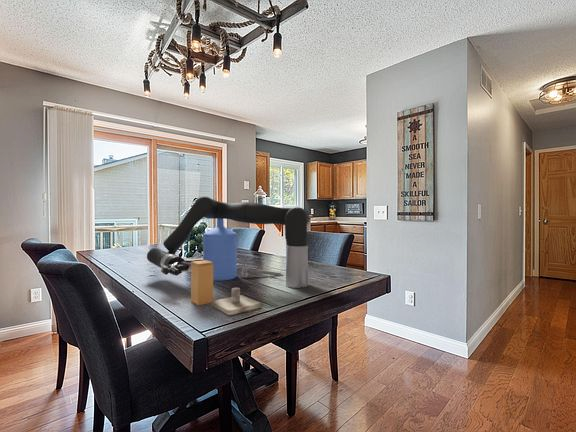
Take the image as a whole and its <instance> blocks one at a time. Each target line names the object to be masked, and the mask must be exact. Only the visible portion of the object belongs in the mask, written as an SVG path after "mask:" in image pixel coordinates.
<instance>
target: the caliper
mask: <svg viewBox="0 0 576 432" xmlns="http://www.w3.org/2000/svg"><path fill="white" fill-rule="evenodd" d="M249 274H252V275H257V274H262V275H268V276H269V275H270V276H276V275H281V276H284V274H283V273H282V272H276V271H268V270H263V269H258V268H257V267H256V268H255V267H248V264H244V266H242V269H241V278H244V276H245V278H247V277H248V276H249Z"/></svg>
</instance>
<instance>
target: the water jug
mask: <svg viewBox="0 0 576 432" xmlns="http://www.w3.org/2000/svg"><path fill="white" fill-rule="evenodd" d="M224 224H225V221H224V219H216V227H214V228H211V229H210V230H207V231H205V232H204V233H202V234H203V238H202V243H203V244H202V247H203V248H202V249H203V253H202V260H207V261H211V262H213V282H223V281H230V280H234V279H236V278H237V275H238V270H237V267H238V265H237V263H238V262H237V258H238V257H237V253H238V252H237V251H238V250H237V249H238V248H237V247H238V243H237V242H238V233H237V232H235V231H234V230H232V229H229V228H227V227H225V226H224Z"/></svg>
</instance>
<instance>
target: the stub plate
mask: <svg viewBox="0 0 576 432" xmlns="http://www.w3.org/2000/svg"><path fill="white" fill-rule="evenodd" d="M230 291H231V294H230V295H231V296H229V297H225V298H220V299H216V300H213V301H211V303H210V307H212V308H214V309H217V310H218V311H220V312H222V313H223V314H225V315H228V316H232V315H237V314H241V313H244V312H248V311H253V310H257V309H260V308H261V307H262V303H261V302H259V301H258V300H257V301H256V300H255V299H252V298H249V297H247V296H245V295H242V294H241V288H240V287H232V288H231V290H230Z"/></svg>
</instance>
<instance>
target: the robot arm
mask: <svg viewBox="0 0 576 432" xmlns="http://www.w3.org/2000/svg"><path fill="white" fill-rule="evenodd" d="M203 218H205V219H208V220H209V219H211V220H212V219H213V220H215V219H216V220H217V219H223V220H224V219H226V220H231V221H235V222H239V223H244V224H245V223H246V224H253V225H281V226H282V225H283V226H284V236H285V237H284V238H285V286H286V287H288V288H292V289H293V288H294V289H299V288H300V289H302V288H308V287H309V262H308V250H309V240H308V224H309V222H310V215H309V213H308V211H307V210H306V209H304V208H302V207H277V206H273V205H270V204H269V205H268V204H265V203H257V202H249V201H242V202H232V203H228V202H223V201H218V200H215V199H213V198H210V197H208V196H204V195H203V196H201V197H199V198H197V199H196V200H195V201H194V202H193V203H192V206H191V207H190V209H189V210H188V212H187V213H186V215H185V216H184V218H183V219H182V221H181V222H180V223H179V224H178V225H177V227H176V228H175V229H174V230H173V231H172V232H171V233H170V234H169V235H168V236H167V238H166V239H165V240H164V241H163V243H162V244H163V247H164V248H165V249H166V250H167V252H166V251H164V250H163V249H161V248H159V247H152V248H150V249H149V251H148V252H147V255H146V258H147V261H148V262H149V263H151V264H153V265H155V266H157V267H159V268H160V272H161V273H162V274H164V275H168V274H170V275H172V276H175V277H176V276H179V275H181V274H182V273H185V272H186V273H191V262H187V261H185V258H183V257H181V256H179V255H176V253H177V251H178V250H179V249H180V248H181V247H182V246H183V245H184V244H185V243H186V241H187V240H188V239H189V237H190V235H191V232H192V231H193V229H194V227H195V226H196V224H198V223H199V222H200V221H201V220H202V219H203ZM307 286H308V287H307ZM301 287H302V288H301Z"/></svg>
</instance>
